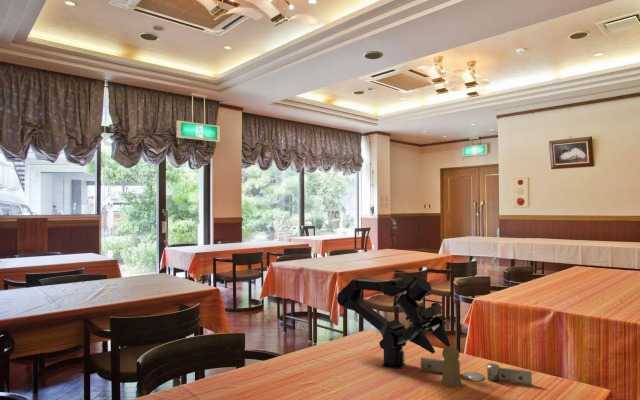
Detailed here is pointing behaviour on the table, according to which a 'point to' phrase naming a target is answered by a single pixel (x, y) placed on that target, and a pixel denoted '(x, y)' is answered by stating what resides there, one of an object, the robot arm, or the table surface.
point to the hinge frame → (493, 374)
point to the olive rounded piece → (451, 368)
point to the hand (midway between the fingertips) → (441, 349)
